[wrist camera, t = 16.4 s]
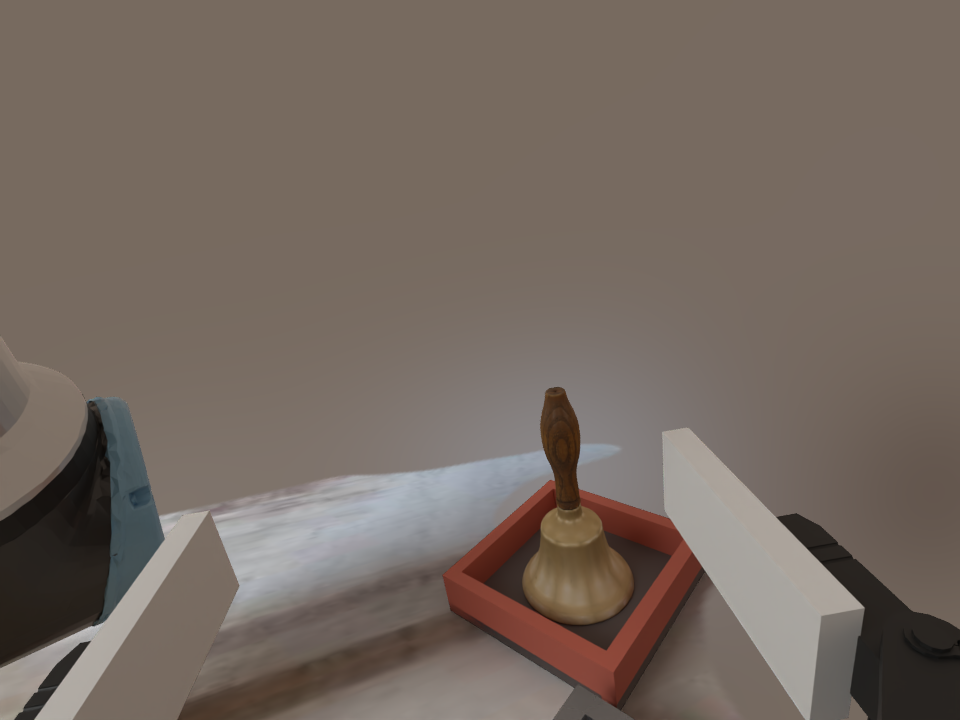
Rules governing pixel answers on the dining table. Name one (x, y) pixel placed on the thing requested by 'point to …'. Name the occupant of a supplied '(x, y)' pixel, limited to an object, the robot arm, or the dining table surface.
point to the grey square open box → (588, 708)
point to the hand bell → (572, 537)
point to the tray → (579, 648)
